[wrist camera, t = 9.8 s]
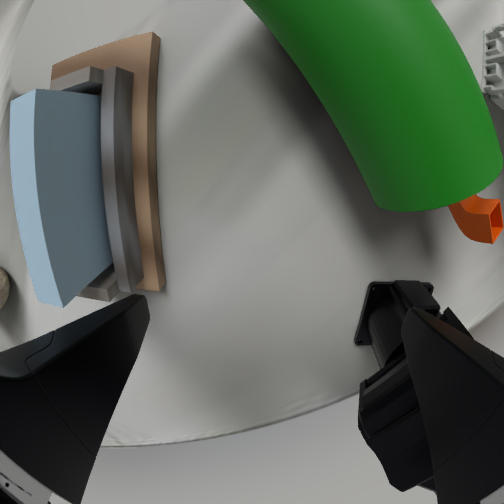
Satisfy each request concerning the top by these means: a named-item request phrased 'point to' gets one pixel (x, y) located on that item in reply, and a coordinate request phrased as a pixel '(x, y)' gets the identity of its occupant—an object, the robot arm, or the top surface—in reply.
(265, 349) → the top surface
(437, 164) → the motor
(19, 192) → the cabinet door
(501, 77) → the circuit breaker
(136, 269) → the cabinet base
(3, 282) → the lumpy boulder
